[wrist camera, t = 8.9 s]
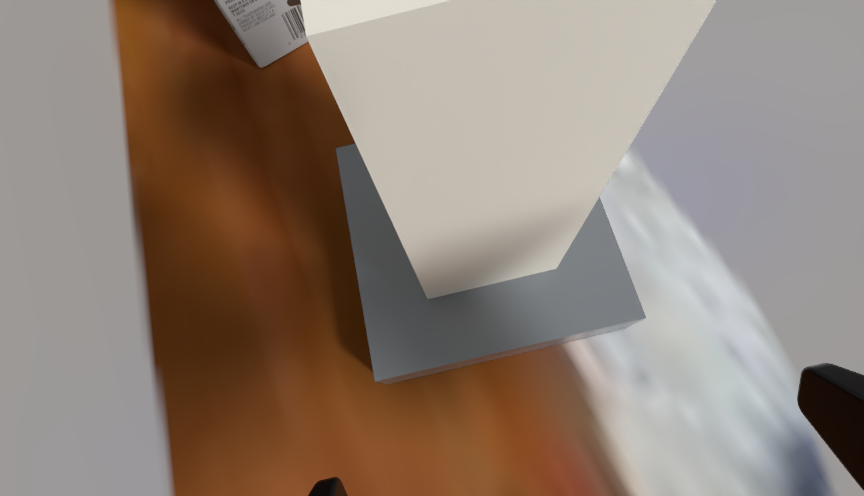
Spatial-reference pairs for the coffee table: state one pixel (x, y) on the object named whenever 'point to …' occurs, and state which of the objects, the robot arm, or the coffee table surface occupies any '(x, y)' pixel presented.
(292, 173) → the coffee table surface
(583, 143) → the post
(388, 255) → the plinth
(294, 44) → the coffee box
